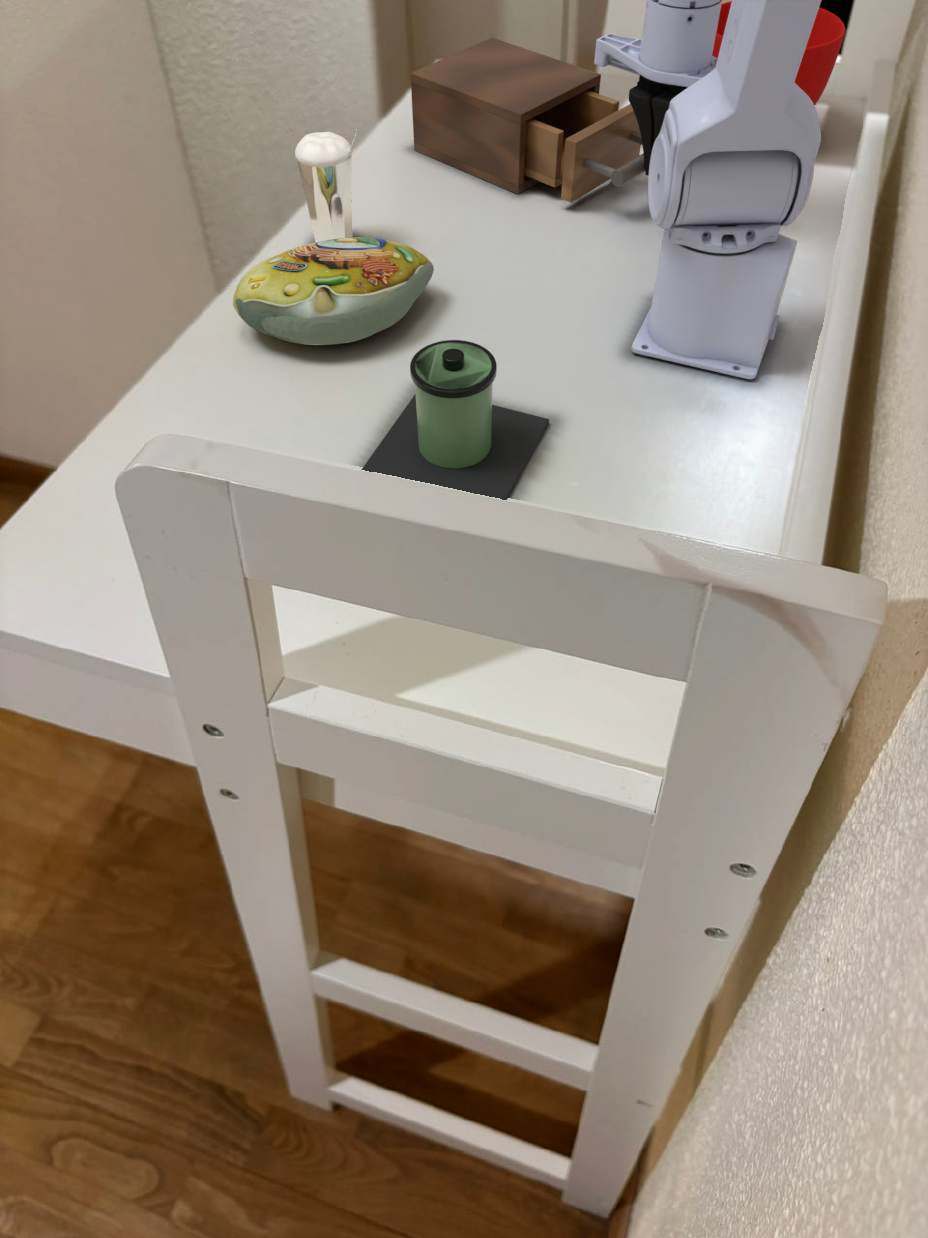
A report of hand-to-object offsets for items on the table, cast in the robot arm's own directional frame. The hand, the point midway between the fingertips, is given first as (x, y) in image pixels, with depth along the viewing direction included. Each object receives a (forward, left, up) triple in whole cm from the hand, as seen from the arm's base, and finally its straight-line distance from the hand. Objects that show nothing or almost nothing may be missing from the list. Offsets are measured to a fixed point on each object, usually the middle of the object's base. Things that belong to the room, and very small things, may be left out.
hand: (657, 172), depth 82 cm
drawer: (+9, -3, -2) cm, 10 cm away
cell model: (+19, +26, -4) cm, 32 cm away
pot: (+4, +37, -3) cm, 37 cm away
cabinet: (+17, -6, -3) cm, 18 cm away
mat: (+4, +37, -3) cm, 37 cm away
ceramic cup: (-4, -17, -4) cm, 18 cm away
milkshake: (+24, +16, -4) cm, 29 cm away
